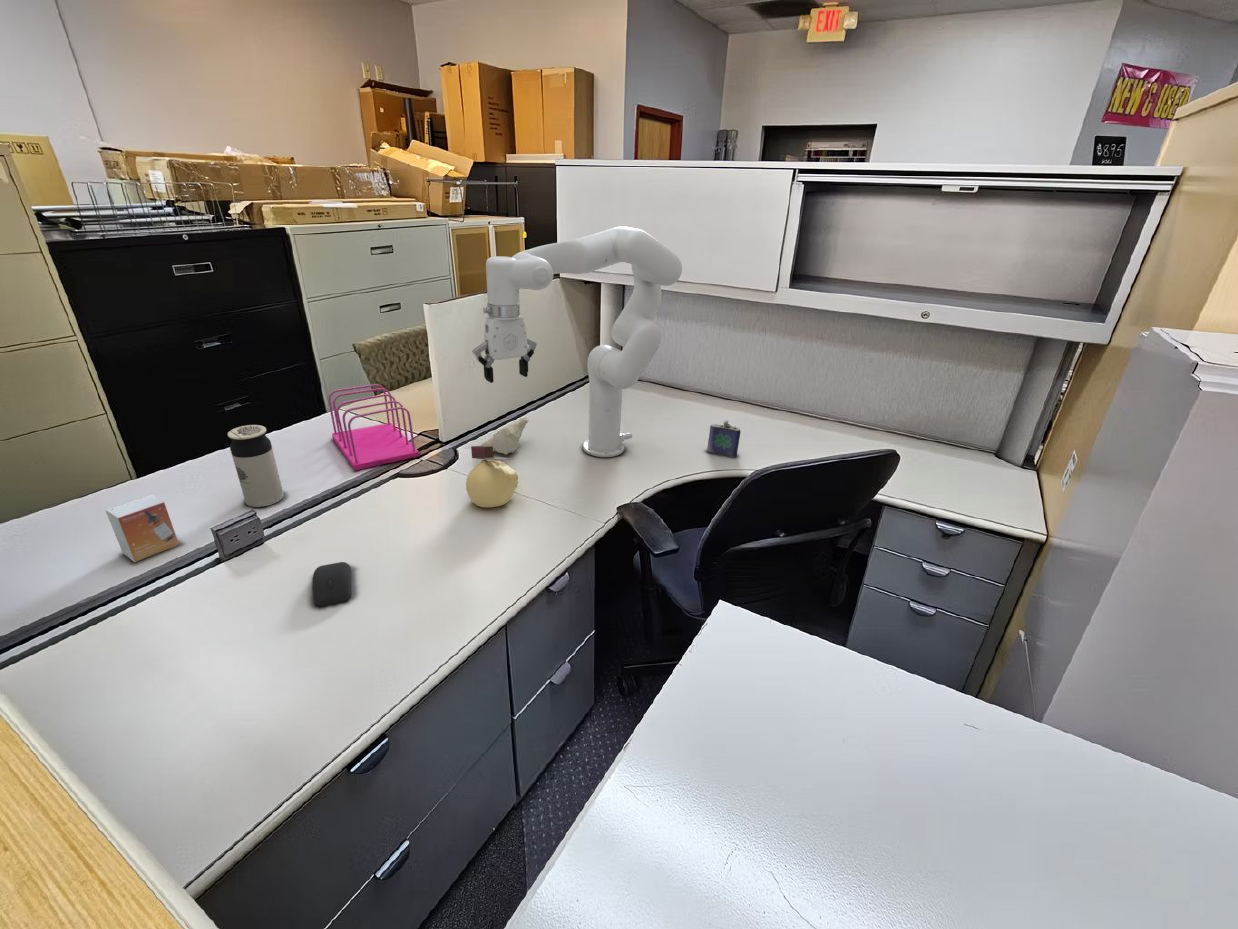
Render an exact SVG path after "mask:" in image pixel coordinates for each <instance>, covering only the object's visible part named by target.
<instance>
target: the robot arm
mask: <svg viewBox="0 0 1238 929" xmlns="http://www.w3.org/2000/svg"><path fill="white" fill-rule="evenodd" d="M620 263H626V264H629V265H631V271H632V276H633V282H634V283H633V290H632V294H631V296H630V298H629V299H628V301H627V302H626V304H625V305H624V307H623V309H622V311H621V312H620V314H619V315H618V317H617V318H616V320H615V321H614V323H613V325H612V327H611V331H610V335H611V339H612V340H613V341H614V343H616V344H617V345H619V346H621V347H622V350H621V349H618V348H616V347H614V346H611V345H608V344H600V345H596V346H595V347H594V348H593V349H592V350H591V351H590V352H589V354H588V356H587V362H586V364H587V366H586V367H587V376H588V382H589V399H588V401H589V402H588V406H589V407H588V433H587V436H588V437H587V440H585V441H584V442H583V444H582V449H583V451H584V452H585V453H586V454H588V455H591V456H592V457H599V458H613V457H617V456H619V455H622V454H623V453H624V451H625V445H624V443H623V442H624V441H625V440H630V439H632V438H633V434H632V432H625V433H624V431H623V430H621V424H622V423H621V422H622V404H623V390H627V389H629V388H631V387H633V386H634V385H635V384H636V383H637V382H638V380H640V378H641V376H642V375H643V373H644V372H645V370H646V369H647V367H648V365H649V364H650V363H651V361H652V359H653V358H654V356H655V355H656V353H657V351H658V350H659V347H660V344H661V342H662V341H661V340H662V332H661V329H660V327H659V326H658V324H657V323H656V322H655V321H654V318H655V316H656V314H657V313H658V311H659V309H660V306H661V305H662V304H661V302H662V286H664V287H667V286H669V287H670V286H672V285H675V283H677V282H678V281H679V280H680V278H681V276H682V273H683V264H682V261H681V259H680V257H679V256H678V254H676V253H675V252H674V251H673V250H671V249H670V248H669V247H667V246H666V245H664V244H663V243H662V242H660V241H659V240H657V239H656V238H655V237H654V236H652V235H651V234H649V233H648V232H646V231H645V230H642V229H639V228H635V227H629V226H615V227H611V228H607V229H606V230H605V229H604V230H602V231H599V232H596V233H595V232H594V233H592V234H588V235H585V236H581V237H578V238H573V239H567V240H563V241H558V242H552V243H548V244H544V245H540V246H539V245H538V246H536V247H535V246H534V247H532V248H530V249H525V250H522V251H519V252H517V253H515V254H514V255H512V256H502V255H501V256H499V255H498V256H491V257H488V258H487V259H486V262H485V274H486V275H485V276H486V291H487V292H486V295H487V303H486V306H485V307H483V308H482V311H483V312H482V313H483V314H487V315H488V316H486V317H485V322H484V331H483V332H484V334H483V335H484V336H483V340H484V341H483V342H482V343H480V344H479V345H477V346H476V347H475V348H473V349H472V354H473V355H474V357H475V359H476V360H477V362H479V363H480V364H481V365H482V366H483V377H484V379H485V380H486V381H487V382H488V383H490V384H493V383H494V381H495V380H494V379H495V378H494V368H493V367H492V365H493V363H494V362H495V361H502V360H507V359H516V358H519V360H518V369H519V370H518V373H519V375H520V376H522V377H524V378H528V373H529V362H530V361H531V358H532V357H533V355H534V354H535V351H536V348H537V345H538V343H537V342H536V341H533V340H531V339H530V338H528V335H527V328H526V323H525V318H524V316H523V315H522V314H521V311H520V310H521V309H520V289H523V290H531V291H540V290H545V289H546V288H547V287H549V286H550V285H551V284H552V282H553V279H554V275H557V274H558V275H559V274H571V275H572V274H573V275H582V274H589V273H591V272H595V271H597V270H601V269H603V268H607V267H609V266H613V265H616V264H620ZM482 352H484V354H485V356H484V357H483V356H482Z"/></svg>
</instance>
